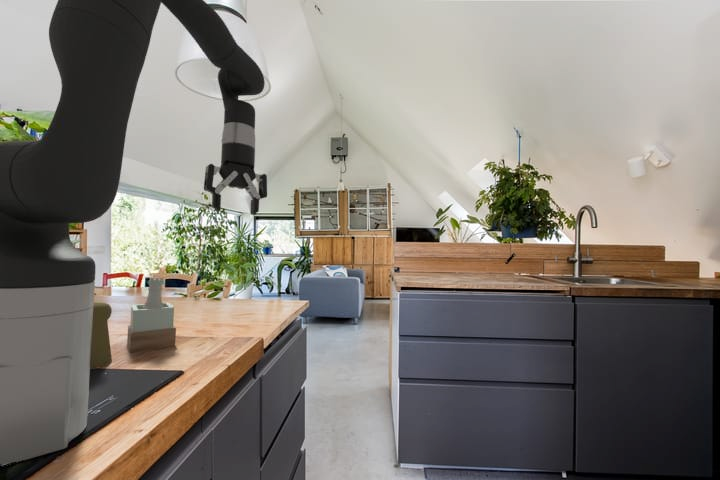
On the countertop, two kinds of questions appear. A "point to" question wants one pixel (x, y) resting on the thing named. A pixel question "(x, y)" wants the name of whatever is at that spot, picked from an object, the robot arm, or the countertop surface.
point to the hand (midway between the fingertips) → (236, 212)
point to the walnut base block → (150, 339)
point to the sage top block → (151, 318)
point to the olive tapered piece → (100, 336)
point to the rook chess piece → (154, 294)
